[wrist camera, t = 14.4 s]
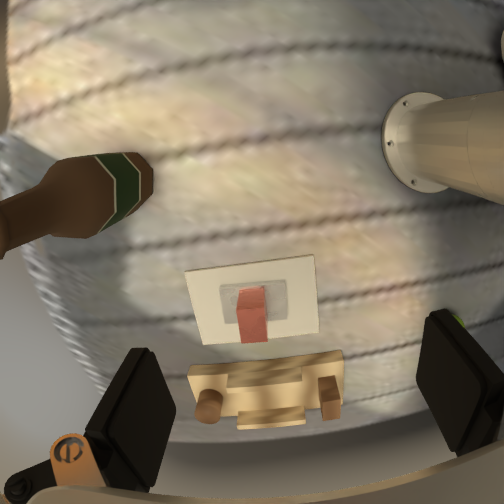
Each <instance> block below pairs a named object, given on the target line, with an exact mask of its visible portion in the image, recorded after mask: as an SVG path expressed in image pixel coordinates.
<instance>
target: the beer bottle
mask: <svg viewBox="0 0 504 504" xmlns="http://www.w3.org/2000/svg"><path fill="white" fill-rule="evenodd" d="M152 180H153V169H152V168H151V167H150V166H149V165H148V164H147V163H146V162H145V161H144V159H143V158H142V157H141V156H140V155H139V154H138V153H135V152H125V153H105V154H96V155H87V156H79V157H71V158H66V159H63V160H59V161H57V162H56V163H55V164H54V165H53V166H51V167H50V168H49V170H48V171H47V173H46V174H45V176H44V177H43V179H42V180H41V182H40V183H39V184H38V185H36V186H35V187H33V188H32V189H29V190H26V191H24V192H21V193H19V194H17V195H14V196H12V197H9V198H7V199H5V200H2V201H0V260H1V259H3V257H4V255H5V253H6V252H7V251H9V250H11V249H13V248H16V247H18V246H21V245H23V244H25V243H28V242H30V241H33V240H35V239H38V238H40V237H43V236H45V235H48V234H51V235H52V236H54V237H68V238H84V239H87V238H89V237H91V236H94V235H96V234H98V233H99V232H101V231H103V230H104V229H106V228H108V227H110V226H111V225H113V224H115V223H116V222H118V221H120V220H122V219H123V218H125V217H127V216H129V215H130V214H132V213H133V212H135V211H136V210H137V209H138V208H139V207H140V206H141V205H142V204H143V203H144V202H145V201H146V200H147V199H148V198H149V197H150V196H151V195H152Z"/></svg>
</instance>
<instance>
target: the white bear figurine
mask: <svg viewBox="0 0 504 504" xmlns="http://www.w3.org/2000/svg"><path fill="white" fill-rule="evenodd" d="M501 50H502V59H503V61H504V31H503V33H502V37H501Z"/></svg>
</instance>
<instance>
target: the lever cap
mask: <svg viewBox="0 0 504 504" xmlns="http://www.w3.org/2000/svg"><path fill="white" fill-rule="evenodd" d="M219 294H220V299H221V305H222V311H223V317H224V322H225V324H235V323H238V326H239V332H240V339H241V343H255V342H268V321H274V320H286V319H288V318H287V304H286V290H285V280H273V281H262V282H251V283H239V284H226V285H220V287H219Z"/></svg>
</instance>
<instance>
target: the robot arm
mask: <svg viewBox="0 0 504 504" xmlns="http://www.w3.org/2000/svg"><path fill="white" fill-rule="evenodd" d="M403 103H404V104H405V106H404V105H403ZM381 138H382V148H383V152H384V156H385V159H386V161H387V164H388V166H389V167H390V169H391V171H392V172H393V174H394V175H395V176H396V177H397V178H398V179H399V180H400V181H401V182H402V183H403V184H405V185H406V186H407V187H410V188H412V189H414V190H416V191H419V192H423V193H437V192H440V191H443V190H445V189H447V188H449V187H450V188H453V189H457V190H460V191H463V192H466V193H469V194H472V195H475V196H478V197H481V198H484V199H487V200H490V201H493V202H496V203H498V204H502V205H504V91H497V92H490V93H483V94H476V95H469V96H463V97H457V98H451V99H446V100H444V99H443V98H441V97H439V96H437V95H434V94H432V93H427V92H415V93H411V94H408V95H406V96H404V97H401V98H400V99H399V100H397V101H396V102H395V103H394V104H393V105H392V106H391V108H390V109H389V111H388V113H387V114H386V116H385V119H384V123H383V126H382V136H381ZM387 142H389V143H390V144H389V146H388V145H387ZM411 181H413V182H412V183H411ZM416 382H417V385H418V387H419V389H420V391H421V393H422V395H423V397H424V398H425V400H426V402H427V404H428V406H429V408H430V410H431V412H432V414H433V416H434V418H435V420H436V422H437V424H438V426H439V428H440V430H441V432H442V434H443V436H444V438H445V441H446V442H447V445H448V447H449V449H450V451H451V452H454V451H455V453H456V455H457V458H454V459H452V460H449V461H446V462H443V463H440V464H437V465H435V466H432V467H429V468H426V469H423V470H419V471H417V472H413V473H410V474H406V475H403V476H399V477H395V478H392V479H388V480H384V481H380V482H375V483H371V484H367V485H362V486H357V487H352V488H346V489H341V490H335V491H328V492H322V493H315V494H306V495H297V496H286V497H272V498H250V499H249V498H247V499H219V498H215V499H214V498H195V497H181V496H170V495H161V494H152V493H149V490H150V487H153V486H154V485H155V483H156V479H157V476H158V472H159V469H160V466H161V462H162V459H163V455H164V452H165V449H166V445H167V442H168V438H169V435H170V432H171V428H172V425H173V422H174V419H175V415H176V406H175V403H174V401H173V399H172V396H171V394H170V391H169V389H168V387H167V384H166V382H165V379H164V377H163V374H162V372H161V369H160V367H159V364H158V361H157V359H156V356H155V354H154V352H150V350H149V349H148V348H131V349H130V351H129V352H128V354H127V356H126V358H125V359H124V361H123V363H122V364H121V366H120V368H119V369H118V371H117V373H116V375H115V376H114V378H113V380H112V381H111V383H110V385H109V387H108V388H107V390H106V392H105V394H104V396H103V397H102V399H101V401H100V403H99V404H98V406H97V408H96V410H95V412H94V413H93V415H92V417H91V419H90V421H89V423H88V424H87V426H86V428H85V431H86V432H85V433H84V435H83V436H82V435H80V434H76V433H75V434H67V435H64V436H62V437H60V438H59V439H57V440H56V441H55V442H54V443H53V445H52V446H51V449H50V459H49V460H46V461H44V462H42V463H40V464H37V465H35V466H32V467H30V468H28V469H25V470H23V471H20V472H18V473H16V474H14V475H12V476H11V477H10V478H9V479H8V480H7V482H6V483H5V487H4V494H2V493H1V492H0V504H504V374H503V372H502V371H501V370H500V369H499V368H498V366H497V365H496V364H495V363H494V361H493V360H492V359H491V358H490V357H489V356H488V354H487V353H486V352H485V351H484V350H483V349H482V347H481V346H480V345H479V344H478V343H477V342H476V340H475V339H474V338H473V337H472V336H471V335H470V334H469V333H468V331H467V330H466V329H465V328H464V327H463V326H462V325H461V324H460V323H459V322H458V321H457V319H456V318H455V317H454V316H453V315H452V314H451V313H450V312H449V311H448V310H447V309H441V310H437V311H432V312H431V313H430V314H429V317H426V319H425V325H424V332H423V339H422V345H421V351H420V357H419V363H418V368H417V373H416Z"/></svg>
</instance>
